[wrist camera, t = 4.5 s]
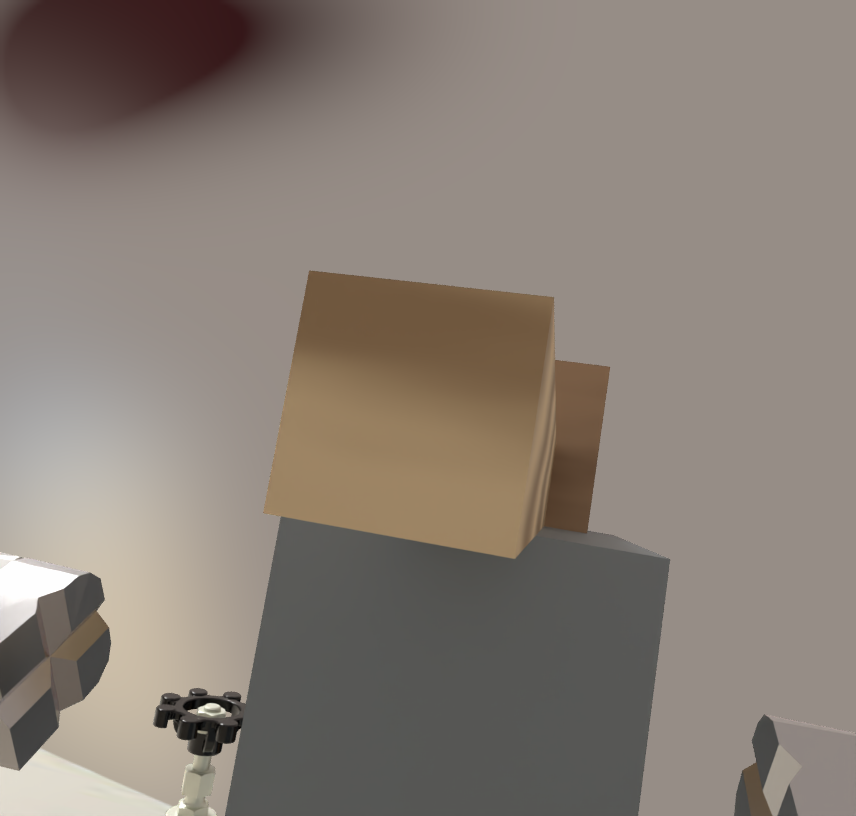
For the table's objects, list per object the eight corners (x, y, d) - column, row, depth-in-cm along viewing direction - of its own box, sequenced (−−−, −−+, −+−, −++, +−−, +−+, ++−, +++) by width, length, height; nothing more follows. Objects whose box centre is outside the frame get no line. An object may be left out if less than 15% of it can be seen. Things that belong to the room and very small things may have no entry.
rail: (655, 584, 9) (721, 61, 10) (150, 492, 10) (244, 41, 11) (581, 529, 36) (600, 393, 37) (445, 506, 38) (466, 375, 38)
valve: (151, 874, 45) (189, 681, 47) (248, 902, 44) (284, 703, 46) (85, 934, 39) (132, 708, 40) (196, 969, 38) (240, 735, 39)
